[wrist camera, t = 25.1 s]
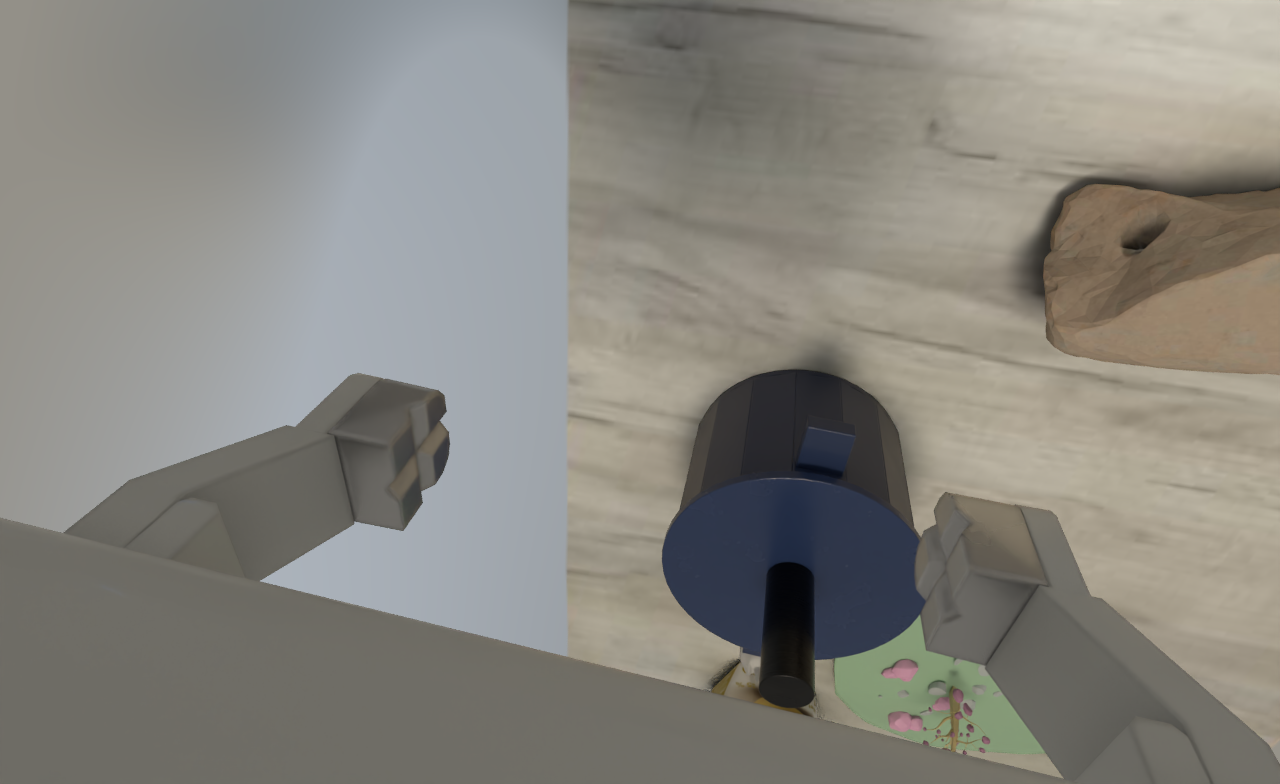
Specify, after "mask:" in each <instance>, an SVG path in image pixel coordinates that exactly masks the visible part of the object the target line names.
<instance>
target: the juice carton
mask: <svg viewBox="0 0 1280 784" xmlns="http://www.w3.org/2000/svg"><path fill="white" fill-rule="evenodd" d="M711 692H712V693H716V694H720V695H724V696H728V697H732V698H736V699H741V700H745V701H749V702H753V703H757V704H761V705H765V706H769V707H773V708H777V709H781V710H785V711H789V712H793V713H798V714H802V715H806V716H810V717H814V718H818V715H817V705H816V698H815V696H814V699H813V701H812V702H811V703H810V704H808V705H806V706H804V707H800V708H783V707H779V706H776V705H773V704H771V703H770V702H768V701H766V700H765V699H764V698H763V697H762V696H761V694H760V692H759V681H758V682H757V683H756V680H755V675H754V673H752V674H750V675H749V676H748V675H747V673H746V671H745V669H744V667H743V665H742V663H741V662H740V663H739V664H738V665H736V666H735V667H734V668H733V669H732V670H731V671H730V672H729V673H728V674H727V675H726V676H725V677H724V678H723V679H722V680H721V681H720V682H719V683H718V684H717V685H716V686H715V687H714V688H713V689H712V691H711Z"/></svg>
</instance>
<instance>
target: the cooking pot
mask: <svg viewBox="0 0 1280 784" xmlns="http://www.w3.org/2000/svg"><path fill="white" fill-rule="evenodd" d="M764 471H801V472H809V473H815V474H822V475H826V476H830V477H833V478H837V479H841V480H844V481H847V482H849V483H852V484H855V485H857V486H860V487H862V488H864V489H866V490H868V491H870V492H872V493H874V494H876V495H877V496H879V497H880V498H882V499H883V500H885V501H887V502H888V503H890V504H891V505H892V506H893V507H894V508H896V509H897V510H898V511H899V512H900V513H902V514H903V515H904V516H905V518H906V519H907V520H908V521H909V522H910V523H911V524H912V525H913V526H914V523H913V517H912V511H911V505H910V499H909V493H908V487H907V481H906V476H905V470H904V464H903V458H902V452H901V446H900V440H899V434H898V431H897V429H896V428H895V426H894V424H893V421H892V420H891V418H890V417H889V415H888V413H887V412H886V411H885V409H884V408H883V407H882V406H881V405H880V404H879V402H877V401H876V400H875V399H874V398H873V397H872V396H871V395H870V394H868V393H867V392H865V391H864V390H862V389H861V388H859V387H858V386H856V385H854V384H852V383H850V382H848V381H846V380H844V379H841V378H838V377H835V376H833V375H829V374H824V373H820V372H814V371H807V370H783V371H774V372H769V373H764V374H760V375H757V376H754V377H751V378H749V379H746V380H744V381H742V382H740V383H738V384H736V385H735V386H733V387H731V388H730V389H728V390H727V391H726V392H724V393H723V394H722V395H721V396H720V397H718V398H717V400H716V401H715V402H714V403H713V404H712V405H711V406H710V408H709V409H708V411H707V412H706V414H705V416H704V418H703V420H702V421H701V423H700V424H699V428H698V432H697V437H696V441H695V445H694V450H693V454H692V458H691V462H690V467H689V471H688V475H687V480H686V484H685V488H684V492H683V497H682V501H681V505H680V509H681V508H682V507H683V506H684V505H685V504H686V503H687V502H688V501H689V500H690V499H692V498H693V497H694V496H696V495H697V494H699V493H700V492H701V491H703V490H705V489H707V488H709V487H711V486H712V485H714V484H717V483H719V482H722V481H725V480H727V479H730V478H734V477H737V476H741V475H745V474H751V473H757V472H764ZM742 653H746V654H750V655H754V656H758V657H761V653H758V652H755V651H751V650H748V649H746V648H742Z"/></svg>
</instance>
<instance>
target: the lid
mask: <svg viewBox="0 0 1280 784" xmlns="http://www.w3.org/2000/svg"><path fill="white" fill-rule="evenodd" d="M920 539H921V537H920V536H919V534H918V532H917V531H916V529H915V528H914V526H913V525H912V524H911V523H910V522H909V521H908V520H907V519H906V518H905V516H904V515H903V514H902V513H900V512H899V511H898V510H897V509H896V508H894V507H893V506H892V505H891V504H890V503H888V502H887V501H885V500H883V499H882V498H880V497H879V496H877V495H876V494H874V493H872V492H870V491H868V490H866V489H864V488H862V487H860V486H857V485H855V484H852V483H849V482H847V481H844V480H841V479H837V478H833V477H830V476H826V475H822V474H815V473H809V472H801V471H764V472H757V473H751V474H745V475H741V476H737V477H734V478H730V479H727V480H725V481H722V482H719V483H717V484H714V485H712V486H711V487H709V488H707V489H705V490H703V491H701V492H700V493H699V494H697V495H696V496H694V497H693V498H692V499H690V500H689V501H688V502H687V503H686V504H685V505H684V506H683V507H682V508H681V509H680V510H679V511H678V513H677V514H676V516H675V517H674V518H673V520H672V522H671V524H670V526H669V528H668V530H667V533H666V537H665V541H664V545H663V550H662V565H663V572H664V575H665V578H666V582H667V584H668V586H669V588H670V590H671V592H672V594H673V596H674V597H675V599H676V600H677V601H678V603H679V604H680V606H681V607H682V608H683V609H684V610H685V611H686V612H687V613H688V614H689V615H690V616H691V617H692V618H693V619H694V620H695V621H697V622H698V623H699V624H700V625H702V626H703V627H704V628H706V629H707V630H709V631H710V632H712V633H714V634H715V635H717V636H719V637H720V638H722V639H724V640H726V641H729V642H731V643H733V644H735V645H737V646H740V647H743V648H746V649H748V650H751V651H755V652H758V653H761V661H760V674H759V692H760V694H761V696H762V697H763V698H764V699H765V700H766V701H768V702H770V703H771V704H773V705H776V706H779V707H783V708H800V707H804V706H806V705H808V704H810V703H811V702H812V701H813V699H814V696H815V660H821V659H834V658H841V657H847V656H851V655H856V654H860V653H863V652H866V651H869V650H872V649H875V648H877V647H879V646H881V645H883V644H886V643H887V642H889V641H891V640H892V639H894V638H896V637H897V636H899V635H900V634H901V633H903V632H904V631H905V630H906V629H908V628H909V627H910V626H911V625H912V623H913V622H914V621H915V620H916V619H917V618H918V616H919V615H920V612H921V610H922V608H923V606H924V604H925V602H926V600H925V599H924V598H923V597H922V596H921V595H920V593H919V592H918V591H917V590H916V585H915V578H914V562H915V557H916V552H917V547H918V544H919V542H920Z"/></svg>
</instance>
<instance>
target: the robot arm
mask: <svg viewBox="0 0 1280 784" xmlns="http://www.w3.org/2000/svg"><path fill="white" fill-rule="evenodd" d="M445 413H446V404H445V397H444V395H443V394H442V393H441V392H440V391H438V390H434V389H429V388H425V387H421V386H417V385H412V384H408V383H403V382H398V381H394V380H390V379H383V378H379V377H374V376H370V375H365V374H360V373H357V374H353V375H350V376H349V377H347V379H345V380H344V381H343V382H342V383H341V384H340V385H339V386H338V387H337V388H336V389H335V390H334V391H333V392H332V393H331V394H329V395H328V396H327V397H326V398H325V399H324V400H323V401H322V402H321V403H320V404H319V405H318V406H317V407H316V408H315V409H314V410H313V411H312V412H310V413H309V414H308V415H307V416H306V417H305V418H304V419H303V420H302V421H301V422H300V423H299V424H298V425H297V426H296V427H292V426H287V425H286V426H283V427H280V428H277V429H274V430H272V431H269V432H266V433H263V434H260V435H257V436H254V437H252V438H249V439H246V440H243V441H241V442H237V443H234V444H232V445H229V446H226V447H223V448H220V449H217V450H214V451H211V452H209V453H206V454H203V455H200V456H197V457H194V458H191V459H189V460H186V461H183V462H180V463H177V464H174V465H171V466H169V467H166V468H163V469H160V470H157V471H154V472H151V473H148V474H146V475H143V476H140V477H137V478H134V479H131V480H129V481H128V482H126V483H125V484H124V485H123V486H121V487H120V488H119V489H118V490H116V491H115V492H114V493H113V494H111V495H110V496H109V497H108V498H106V499H105V500H104V501H103V502H101V503H100V504H99V505H98V506H96V507H95V508H94V509H93V510H91V511H90V512H89V513H88V514H86V515H85V516H84V517H83V518H82V519H80V520H79V521H78V522H76V523H75V524H74V525H72V526H71V527H70V528H69V529H67V530H66V531H65V532H64V533H60V532H56V531H52V530H47V529H44V528H40V527H36V526H32V525H28V524H23V523H19V522H15V521H11V520H7V519H3V518H0V784H1280V764H1279V762H1278V760H1277V759H1276V757H1275V755H1274V753H1273V752H1272V750H1271V748H1270V746H1269V745H1268V744H1267V743H1266V742H1265V741H1264V740H1263V739H1262V738H1260V737H1259V736H1258V735H1257V734H1256V733H1255V732H1254V731H1252V730H1251V729H1250V728H1249V727H1248V726H1247V725H1246V724H1245V723H1243V722H1242V721H1241V720H1240V719H1239V718H1238V717H1237V716H1235V715H1234V714H1233V713H1232V712H1231V711H1230V710H1229V709H1227V708H1226V707H1225V706H1224V705H1223V704H1222V703H1221V702H1219V701H1218V700H1217V699H1216V698H1215V697H1214V696H1213V695H1211V694H1210V693H1209V692H1208V691H1207V690H1206V689H1205V688H1203V687H1202V686H1201V685H1200V684H1199V683H1198V682H1197V681H1195V680H1194V679H1193V678H1192V677H1191V676H1190V675H1189V674H1187V673H1186V672H1185V671H1184V670H1183V669H1182V668H1181V667H1179V666H1178V665H1177V664H1176V663H1175V662H1174V661H1173V660H1171V659H1170V658H1169V657H1168V656H1167V655H1166V654H1165V653H1163V652H1162V651H1161V650H1160V649H1159V648H1158V647H1157V646H1155V645H1154V644H1153V643H1152V642H1151V641H1150V640H1149V639H1147V638H1146V637H1145V636H1144V635H1143V634H1142V633H1141V632H1139V631H1138V630H1137V629H1136V628H1135V627H1134V626H1133V625H1131V624H1130V623H1129V622H1128V621H1127V620H1126V619H1125V618H1123V617H1122V616H1121V615H1120V614H1119V613H1118V612H1117V611H1115V610H1114V609H1113V608H1112V607H1111V606H1110V605H1109V604H1107V603H1106V602H1105V601H1104V600H1103V599H1101V598H1096V597H1092V596H1091V595H1090V593H1089V591H1088V588H1087V586H1086V584H1085V581H1084V579H1083V577H1082V574H1081V572H1080V570H1079V567H1078V565H1077V563H1076V560H1075V558H1074V556H1073V553H1072V551H1071V549H1070V546H1069V544H1068V542H1067V539H1066V537H1065V535H1064V532H1063V530H1062V528H1061V525H1060V523H1059V521H1058V518H1057V516H1056V515H1055V514H1054V513H1052V512H1051V511H1049V510H1043V509H1038V508H1032V507H1026V506H1021V505H1010V504H1005V503H1000V502H995V501H990V500H984V499H979V498H974V497H969V496H964V495H959V494H954V493H948V492H945V493H944V494H943V495H942V496H941V497H940V499H939V501H938V503H937V505H936V507H935V509H934V514H935V519H936V525H934V526H932V527H930V528H928V529H926V530H925V531H924V532H923V535H922V537H921V539H920V542H919V544H918V547H917V552H916V557H915V562H914V578H915V585H916V590H917V591H918V592H919V593H920V595H921V596H922V597H923V598H924V599H925V600H926V602H925V604H924V606H923V608H922V610H921V612H920V618H921V624H922V630H923V636H924V642H925V648H926V651H929V652H933V653H937V654H941V655H945V656H949V657H953V658H957V659H961V660H965V661H969V662H972V663H976V664H980V665H984V666H986V667H985V670H986V671H987V673H988V674H989V675H990V677H991V678H992V679H993V681H994V682H995V684H996V685H997V686H998V688H999V689H1000V690H1001V692H1002V693H1003V695H1004V696H1005V697H1006V699H1007V700H1008V702H1009V703H1010V704H1011V706H1012V707H1013V708H1014V710H1015V711H1016V713H1017V714H1018V715H1019V717H1020V718H1021V720H1022V721H1023V722H1024V724H1025V725H1026V726H1027V728H1028V729H1029V731H1030V732H1031V733H1032V735H1033V736H1034V737H1035V739H1036V740H1037V742H1038V743H1039V744H1040V746H1041V747H1042V749H1043V750H1044V751H1045V753H1046V754H1047V755H1048V757H1049V758H1050V760H1051V761H1052V762H1053V764H1054V765H1055V767H1056V768H1057V769H1058V771H1059V772H1060V773H1061V775H1062V776H1063V778H1064V779H1062V778H1058V777H1054V776H1050V775H1046V774H1042V773H1038V772H1033V771H1029V770H1025V769H1021V768H1017V767H1013V766H1009V765H1005V764H1001V763H997V762H993V761H989V760H985V759H981V758H976V757H972V756H968V755H964V754H960V753H956V752H952V751H948V750H944V749H940V748H936V747H932V746H928V745H924V744H920V743H915V742H911V741H907V740H903V739H899V738H895V737H891V736H887V735H883V734H879V733H875V732H871V731H867V730H863V729H859V728H854V727H850V726H846V725H842V724H838V723H834V722H830V721H826V720H822V719H818V718H814V717H810V716H806V715H802V714H798V713H793V712H789V711H785V710H781V709H777V708H773V707H769V706H765V705H761V704H757V703H753V702H749V701H745V700H741V699H736V698H732V697H728V696H724V695H720V694H716V693H712V692H708V691H704V690H700V689H696V688H692V687H688V686H684V685H680V684H675V683H671V682H667V681H663V680H659V679H655V678H651V677H647V676H643V675H639V674H635V673H631V672H627V671H622V670H618V669H614V668H610V667H606V666H602V665H598V664H594V663H590V662H586V661H582V660H578V659H574V658H570V657H565V656H561V655H557V654H553V653H549V652H545V651H541V650H537V649H533V648H529V647H525V646H521V645H517V644H512V643H508V642H504V641H500V640H496V639H492V638H488V637H483V636H480V635H476V634H472V633H467V632H464V631H460V630H456V629H451V628H447V627H443V626H439V625H435V624H431V623H427V622H423V621H419V620H415V619H411V618H406V617H403V616H398V615H394V614H390V613H386V612H382V611H378V610H374V609H370V608H365V607H362V606H358V605H353V604H350V603H345V602H341V601H337V600H333V599H329V598H325V597H321V596H317V595H313V594H308V593H304V592H301V591H296V590H292V589H288V588H284V587H280V586H276V585H272V584H268V583H264V582H260V580H262V579H264V578H265V577H267V576H269V575H270V574H272V573H274V572H275V571H277V570H279V569H280V568H282V567H284V566H285V565H287V564H288V563H290V562H292V561H294V560H295V559H297V558H299V557H300V556H302V555H304V554H305V553H307V552H308V551H310V550H312V549H313V548H315V547H317V546H319V545H320V544H322V543H324V542H325V541H327V540H329V539H330V538H332V537H334V536H335V535H337V534H339V533H340V532H342V531H343V530H345V529H347V528H349V527H350V526H352V525H354V521H356V522H360V523H365V524H371V525H375V526H380V527H385V528H390V529H396V530H401V531H403V530H404V529H405V528H406V526H407V525H408V523H409V522H410V520H411V519H412V517H413V516H414V515H415V513H416V512H417V510H418V509H419V507H420V506H421V505H422V503H423V502H422V495H421V491H423V490H425V489H427V488H429V487H431V486H433V485H435V484H436V483H437V481H438V479H439V478H440V476H441V475H442V473H443V471H444V468H445V465H446V462H447V460H448V456H449V445H450V441H449V432H448V431H447V429H446V428H445V427H444V426H443V424H442V423H441V422H440V419H441V418H442V417H443V415H444V414H445Z"/></svg>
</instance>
